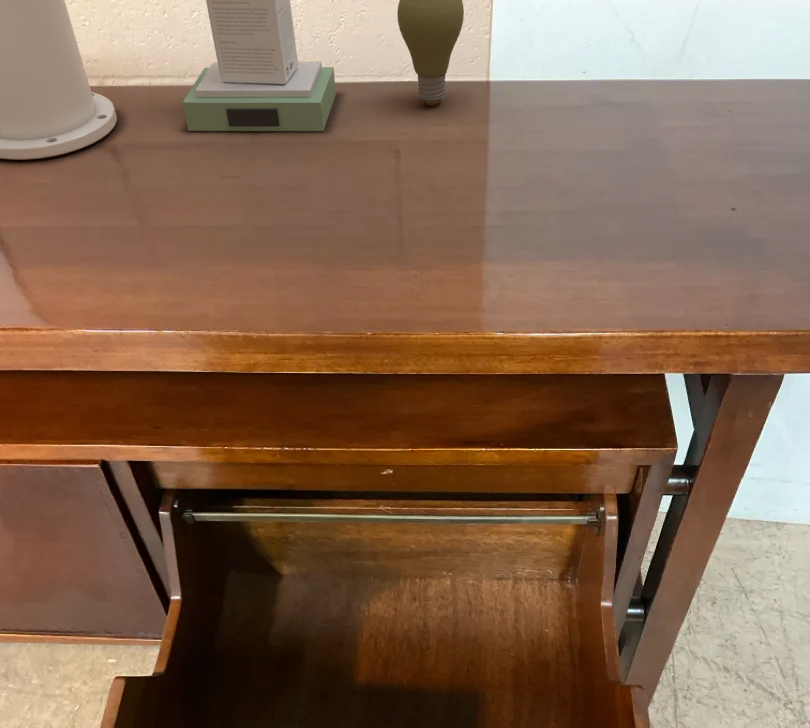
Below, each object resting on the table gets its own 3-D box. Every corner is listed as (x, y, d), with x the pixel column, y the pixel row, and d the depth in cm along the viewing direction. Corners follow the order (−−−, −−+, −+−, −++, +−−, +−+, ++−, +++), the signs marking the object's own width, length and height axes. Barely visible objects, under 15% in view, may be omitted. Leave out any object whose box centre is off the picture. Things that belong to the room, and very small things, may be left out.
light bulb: (399, 116, 74) (394, -15, 67) (402, 91, 78) (397, -35, 70) (462, 115, 74) (464, -16, 66) (462, 90, 78) (464, -37, 70)
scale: (187, 132, 73) (179, 96, 71) (209, 95, 79) (203, 60, 77) (323, 132, 72) (319, 95, 70) (336, 94, 78) (333, 59, 76)
